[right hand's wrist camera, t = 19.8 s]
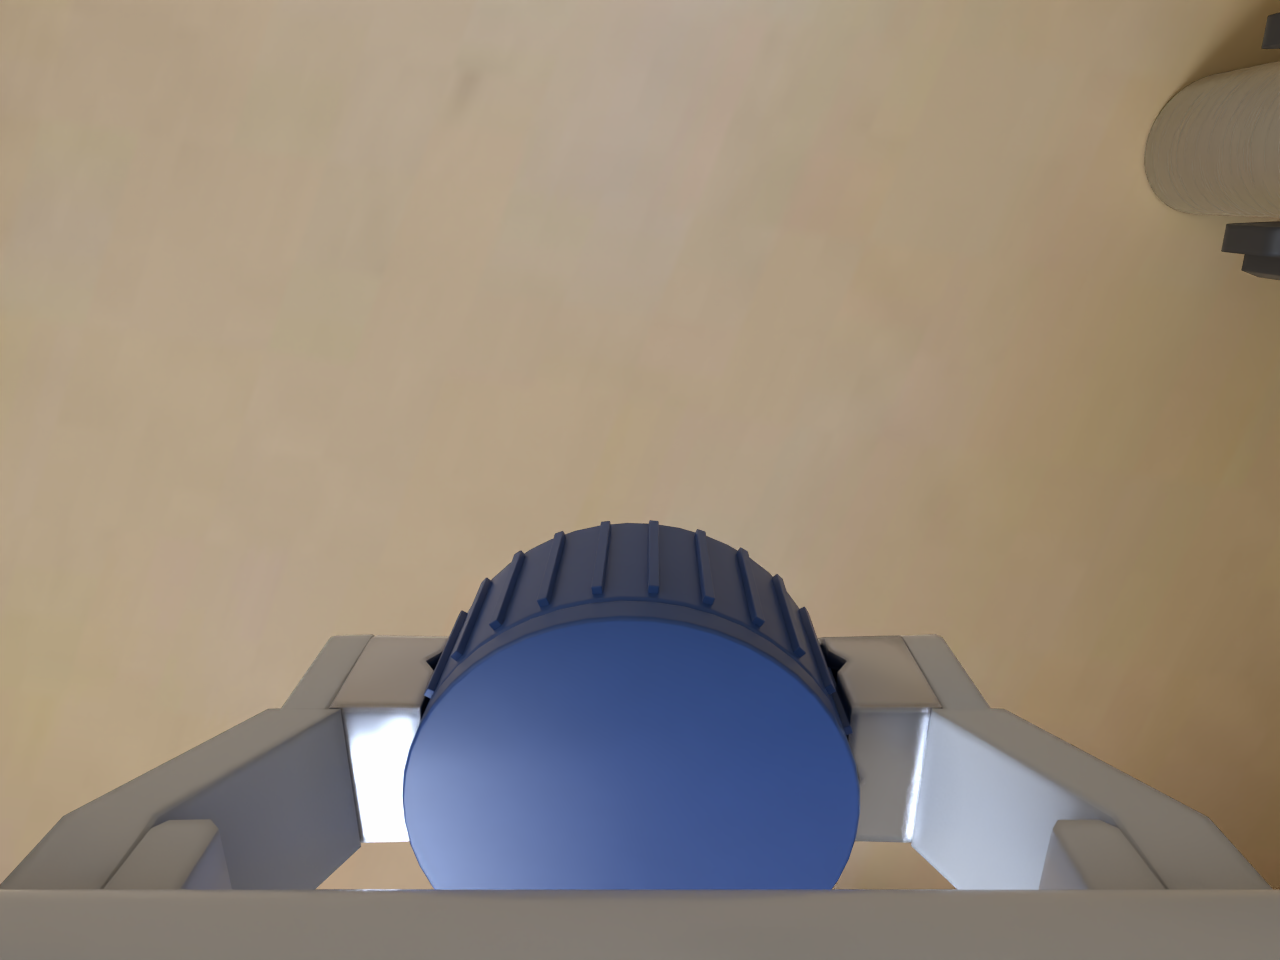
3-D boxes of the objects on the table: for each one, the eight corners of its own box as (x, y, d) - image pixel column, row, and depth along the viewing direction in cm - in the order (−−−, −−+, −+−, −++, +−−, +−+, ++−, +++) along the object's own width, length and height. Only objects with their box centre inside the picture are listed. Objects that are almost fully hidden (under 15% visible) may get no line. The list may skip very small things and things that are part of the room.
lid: (447, 496, 10) (389, 587, 7) (858, 534, 10) (915, 634, 8) (443, 820, 11) (395, 968, 9) (792, 850, 11) (823, 1003, 9)
